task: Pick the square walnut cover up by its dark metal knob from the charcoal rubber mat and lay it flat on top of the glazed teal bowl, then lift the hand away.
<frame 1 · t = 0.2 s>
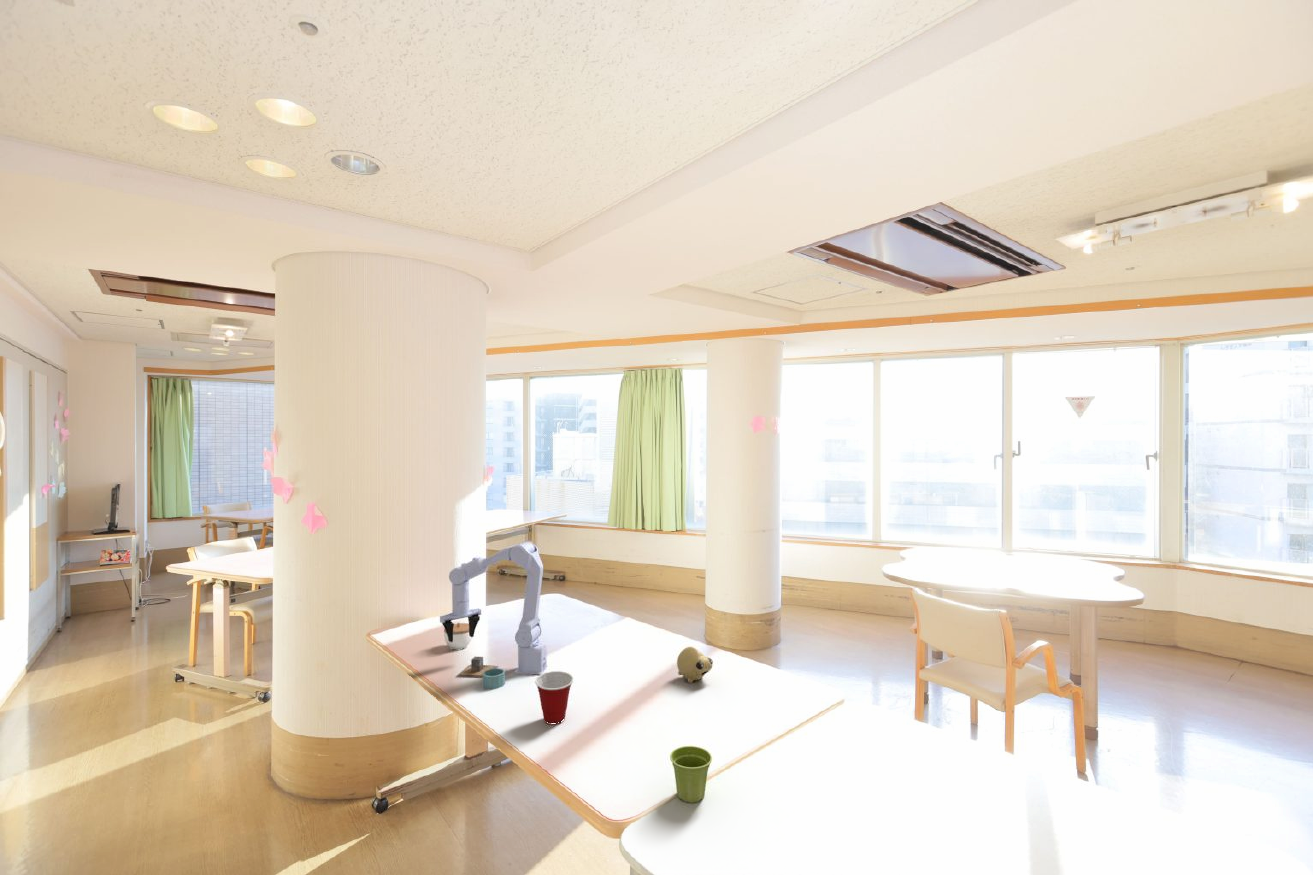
hand: (461, 638, 214), 10 cm above the table, tool pointing down, fingers open, 7 cm apart
mat: (477, 672, 208), on the table
plant pot: (691, 795, 135), on the table
lidded jar: (458, 647, 234), on the table
bowl: (493, 685, 196), on the table
plastic cup: (554, 721, 171), on the table
cover: (477, 671, 208), resting on mat
tan toy animal: (694, 680, 200), on the table
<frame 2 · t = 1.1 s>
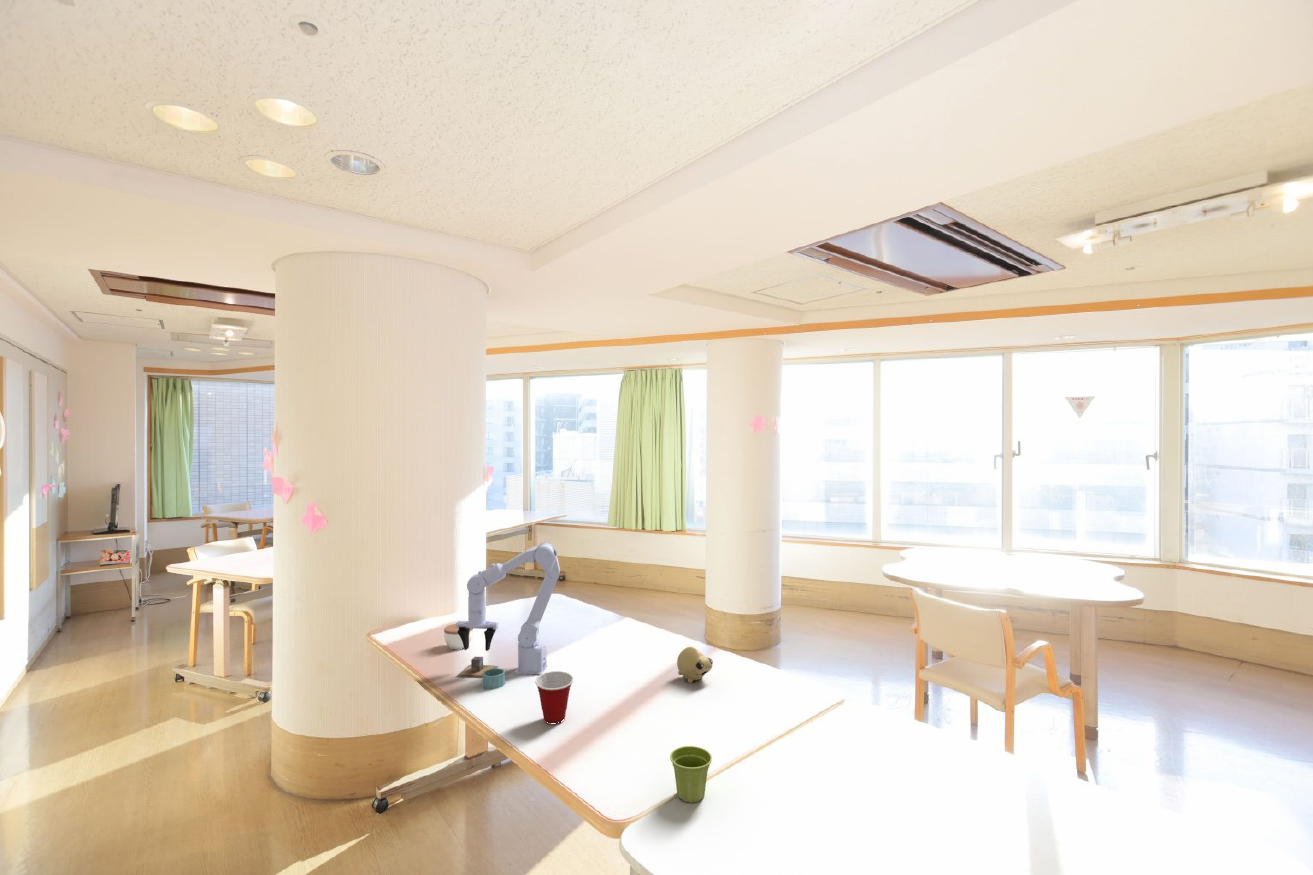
hand: (477, 649, 208), 8 cm above the table, tool pointing down, fingers open, 7 cm apart
nothing on the table moved.
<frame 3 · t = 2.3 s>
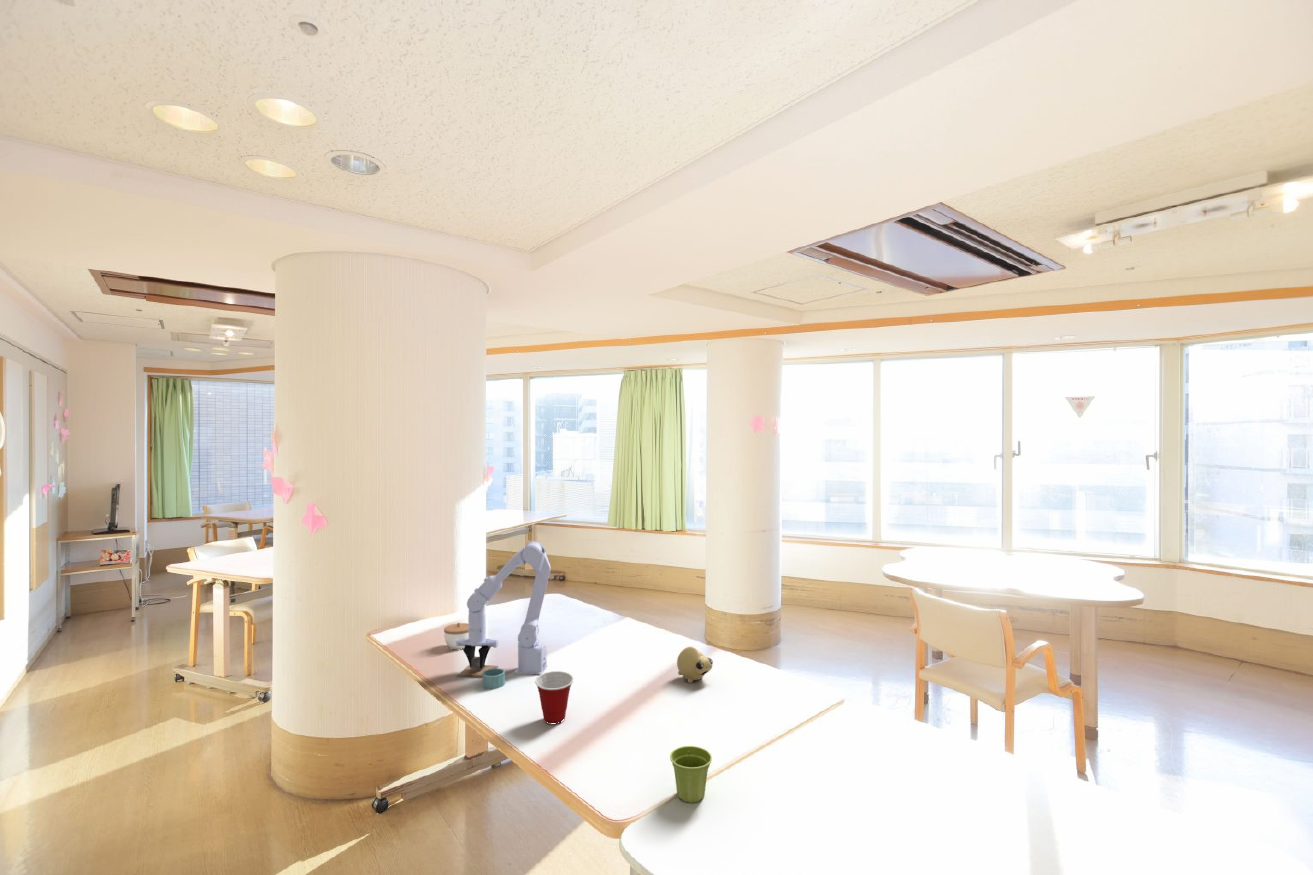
hand: (477, 667, 208), 2 cm above the table, tool pointing down, fingers closed on cover, 3 cm apart
cover: (477, 671, 208), resting on mat, touching gripper
everything else where it was.
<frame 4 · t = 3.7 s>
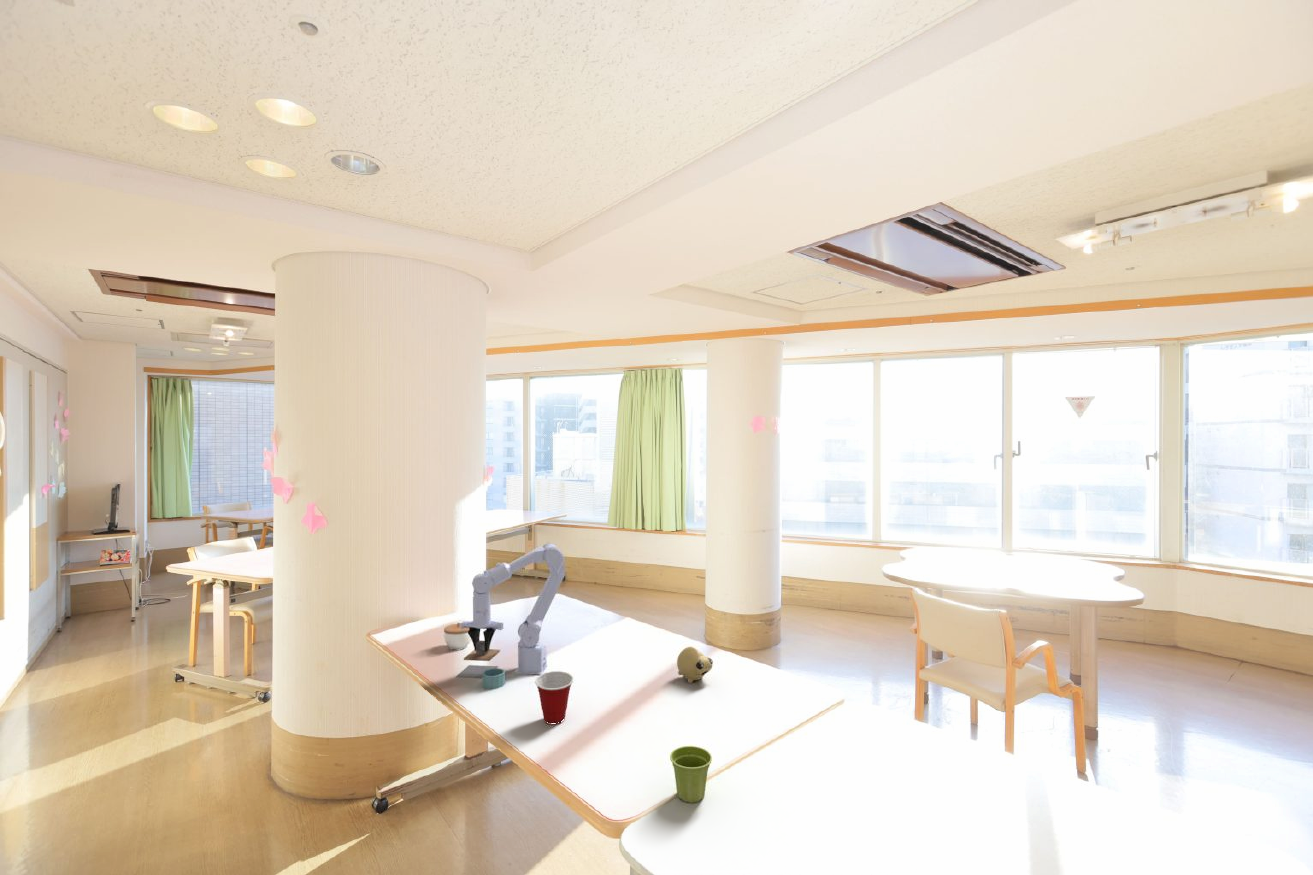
hand: (482, 649, 204), 9 cm above the table, tool pointing down, fingers closed on cover, 3 cm apart
cover: (482, 655, 204), point 7 cm above the table, touching gripper
everything else where it was.
when the fingers open (7 cm above the table, at t = 5.0 s): cover stays where it is, resting on bowl.
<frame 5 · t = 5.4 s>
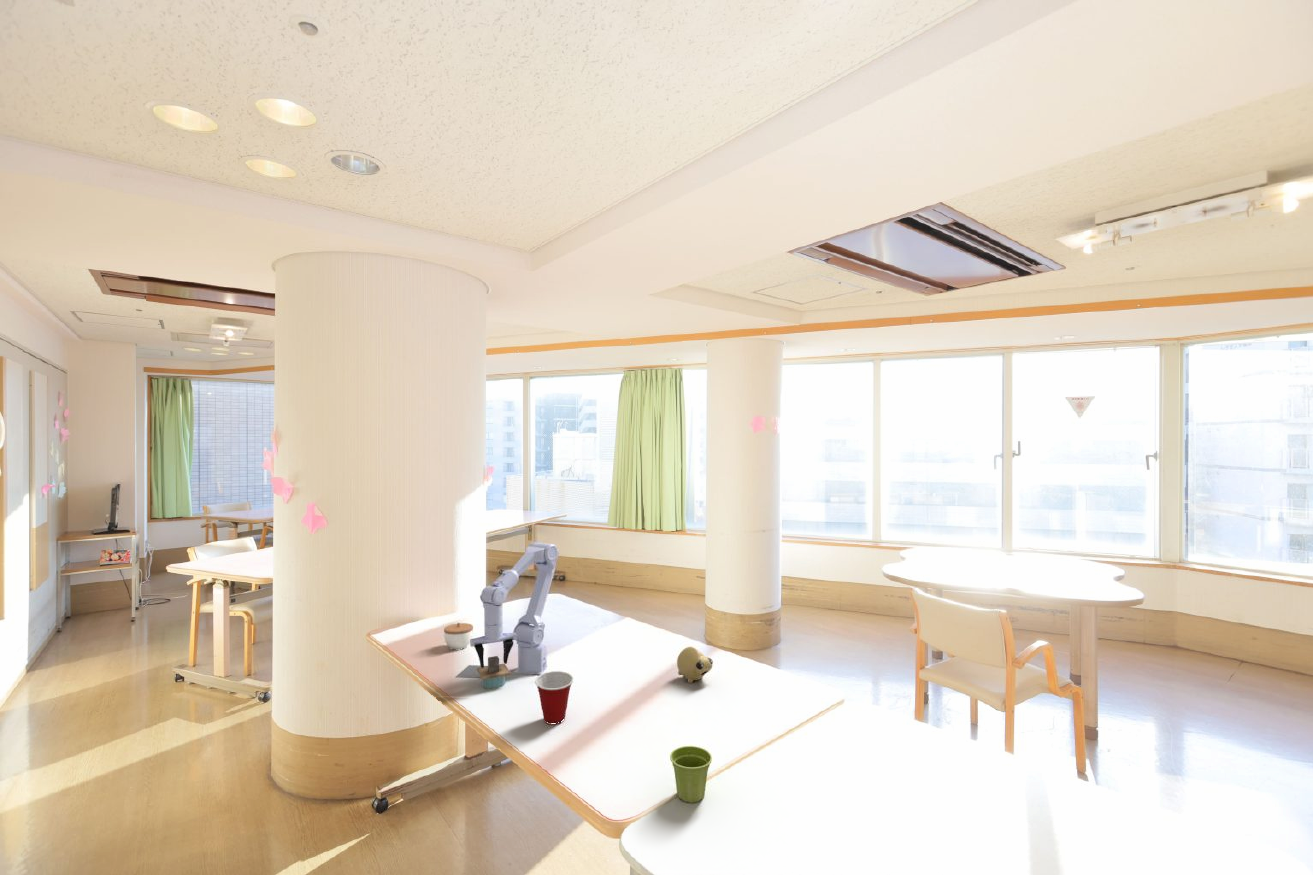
hand: (493, 664, 197), 7 cm above the table, tool pointing down, fingers open, 7 cm apart
cover: (493, 672, 197), point 4 cm above the table, touching bowl
everything else where it was.
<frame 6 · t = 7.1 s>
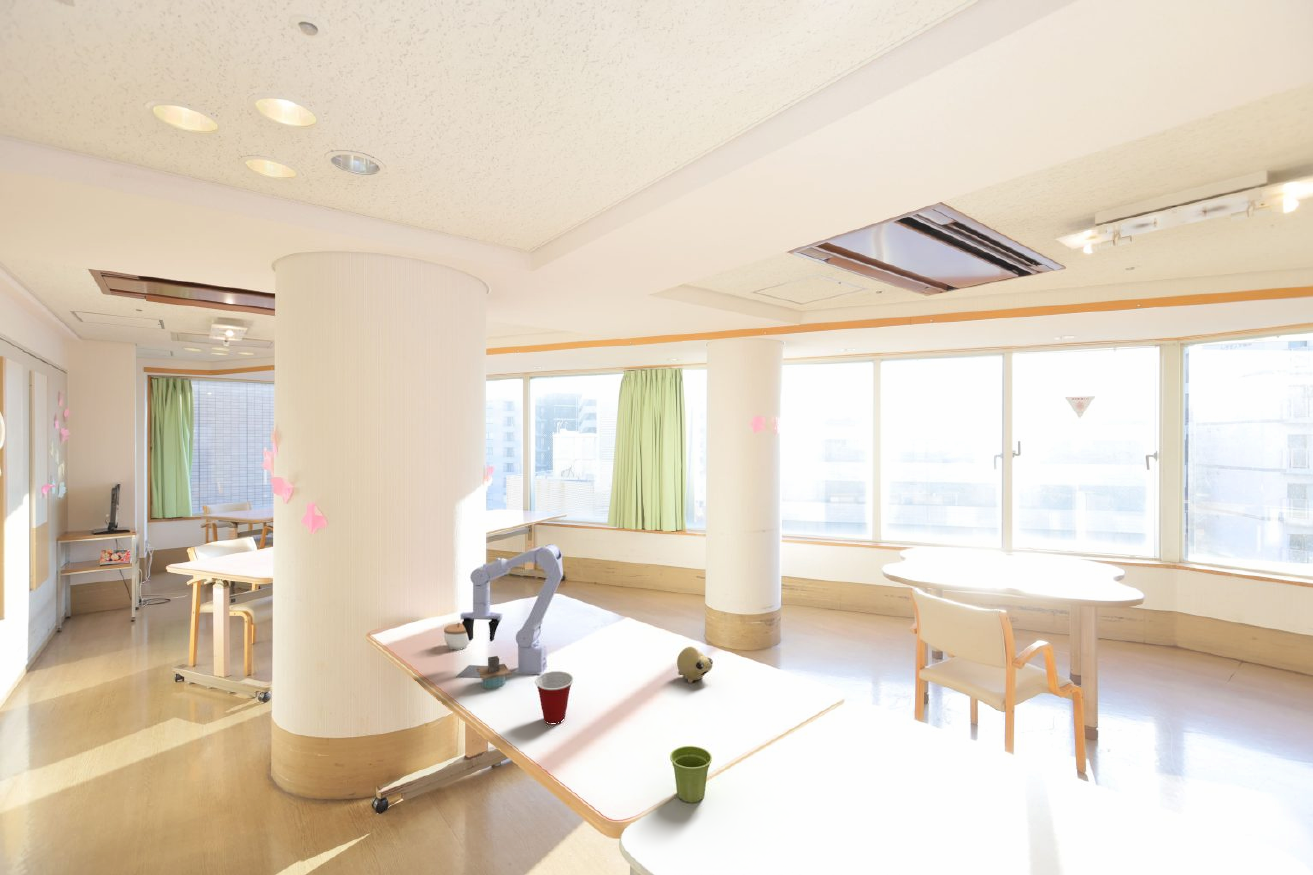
hand: (481, 639, 211), 10 cm above the table, tool pointing down, fingers open, 7 cm apart
nothing on the table moved.
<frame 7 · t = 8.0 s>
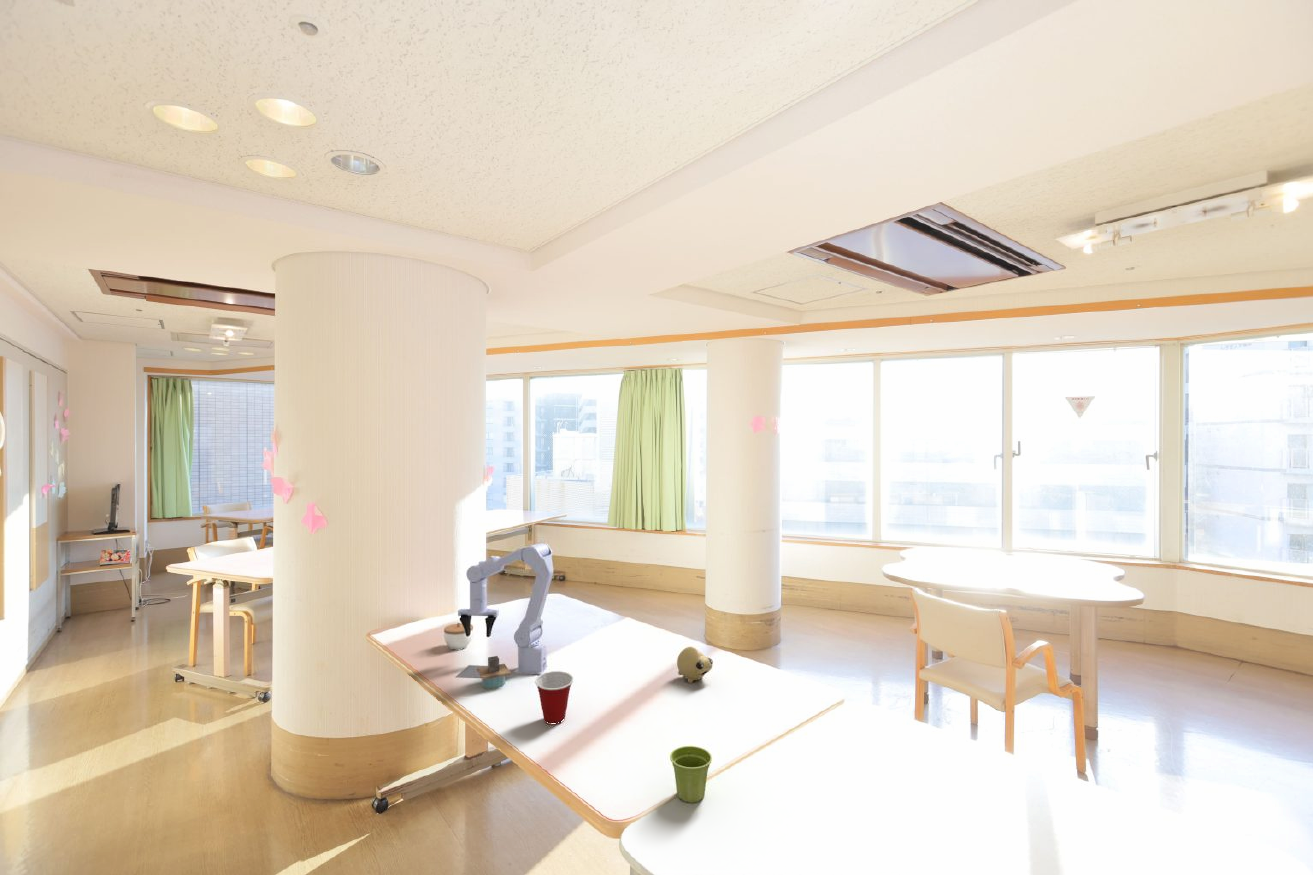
hand: (478, 635, 216), 10 cm above the table, tool pointing down, fingers open, 7 cm apart
nothing on the table moved.
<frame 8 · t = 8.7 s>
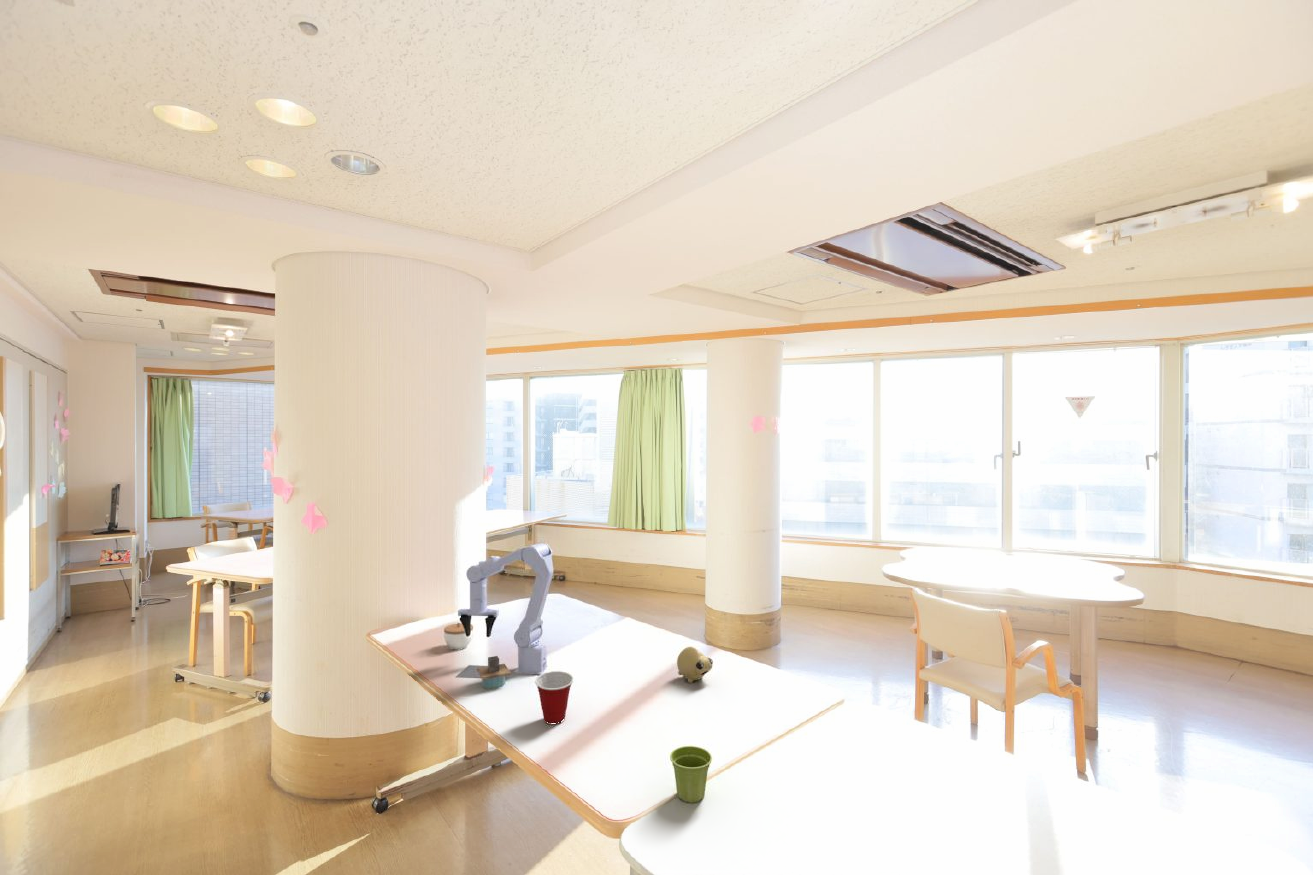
hand: (478, 635, 216), 10 cm above the table, tool pointing down, fingers open, 7 cm apart
nothing on the table moved.
at the end: cover 0.2 cm off-centre on the bowl, point 4.2 cm above the bowl's base; cover tilted 0°; the gripper is holding nothing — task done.
